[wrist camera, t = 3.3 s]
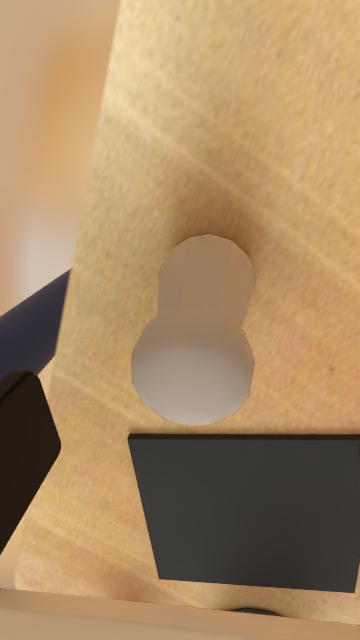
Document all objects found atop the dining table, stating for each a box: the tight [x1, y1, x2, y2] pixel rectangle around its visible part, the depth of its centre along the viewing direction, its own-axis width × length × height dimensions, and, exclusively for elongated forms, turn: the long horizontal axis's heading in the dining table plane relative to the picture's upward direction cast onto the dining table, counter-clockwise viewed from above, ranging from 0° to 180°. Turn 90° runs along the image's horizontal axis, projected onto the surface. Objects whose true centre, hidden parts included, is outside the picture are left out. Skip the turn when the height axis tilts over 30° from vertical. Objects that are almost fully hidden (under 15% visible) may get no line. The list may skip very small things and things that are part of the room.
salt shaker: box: [131, 234, 256, 426], centre depth 17 cm, size 6×6×13 cm
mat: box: [128, 434, 360, 593], centre depth 32 cm, size 20×20×1 cm
